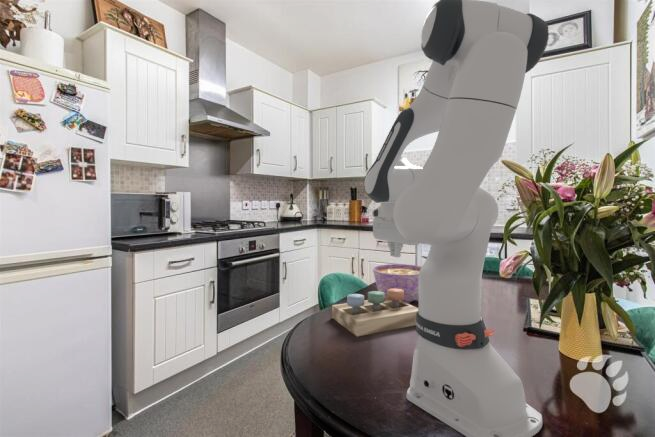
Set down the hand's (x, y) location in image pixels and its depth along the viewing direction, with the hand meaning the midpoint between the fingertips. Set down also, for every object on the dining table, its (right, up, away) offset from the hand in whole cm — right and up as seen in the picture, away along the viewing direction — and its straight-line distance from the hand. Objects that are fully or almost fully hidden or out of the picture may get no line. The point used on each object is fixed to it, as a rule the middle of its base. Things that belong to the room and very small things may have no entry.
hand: (395, 256), depth 101 cm
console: (-6, -19, -2) cm, 20 cm away
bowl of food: (+6, -18, +18) cm, 27 cm away
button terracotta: (0, -16, +1) cm, 16 cm away
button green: (-6, -17, -2) cm, 18 cm away
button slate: (-13, -17, -5) cm, 22 cm away
